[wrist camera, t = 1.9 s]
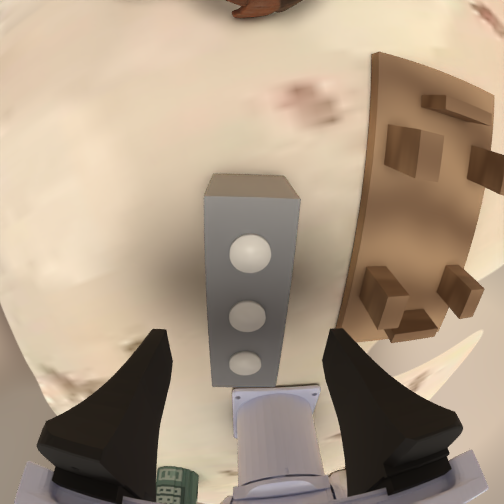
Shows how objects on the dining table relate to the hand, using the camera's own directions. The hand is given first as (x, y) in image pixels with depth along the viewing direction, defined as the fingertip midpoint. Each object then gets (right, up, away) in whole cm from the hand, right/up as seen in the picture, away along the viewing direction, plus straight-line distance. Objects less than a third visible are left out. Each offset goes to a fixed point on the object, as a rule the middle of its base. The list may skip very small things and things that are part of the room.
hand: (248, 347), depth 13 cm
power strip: (0, +3, +7) cm, 7 cm away
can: (-11, -30, +22) cm, 39 cm away
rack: (+12, +7, +5) cm, 15 cm away
